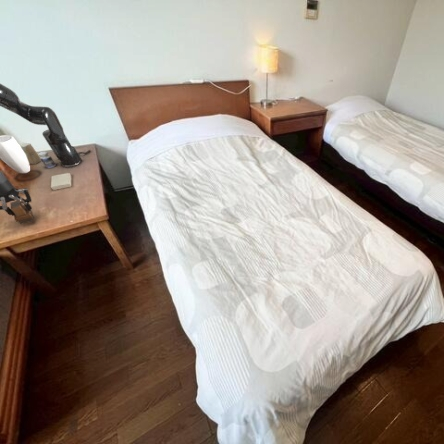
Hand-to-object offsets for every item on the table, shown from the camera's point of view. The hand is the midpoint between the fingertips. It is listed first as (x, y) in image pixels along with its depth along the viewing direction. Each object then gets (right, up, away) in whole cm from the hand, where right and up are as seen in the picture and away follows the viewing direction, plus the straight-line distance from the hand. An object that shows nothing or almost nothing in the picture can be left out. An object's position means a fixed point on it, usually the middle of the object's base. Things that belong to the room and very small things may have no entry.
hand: (21, 212), depth 111 cm
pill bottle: (-23, +29, +37) cm, 52 cm away
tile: (-6, +18, +26) cm, 32 cm away
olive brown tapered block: (-35, +32, +39) cm, 61 cm away
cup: (-28, +22, +28) cm, 45 cm away
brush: (0, -2, +2) cm, 3 cm away
